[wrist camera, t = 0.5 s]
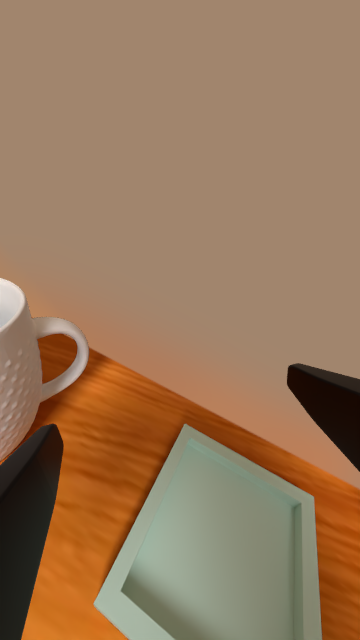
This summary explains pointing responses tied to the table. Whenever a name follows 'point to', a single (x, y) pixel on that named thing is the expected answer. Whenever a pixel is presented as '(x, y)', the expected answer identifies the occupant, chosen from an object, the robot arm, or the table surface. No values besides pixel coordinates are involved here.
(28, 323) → the mug
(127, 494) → the table surface
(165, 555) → the tray
